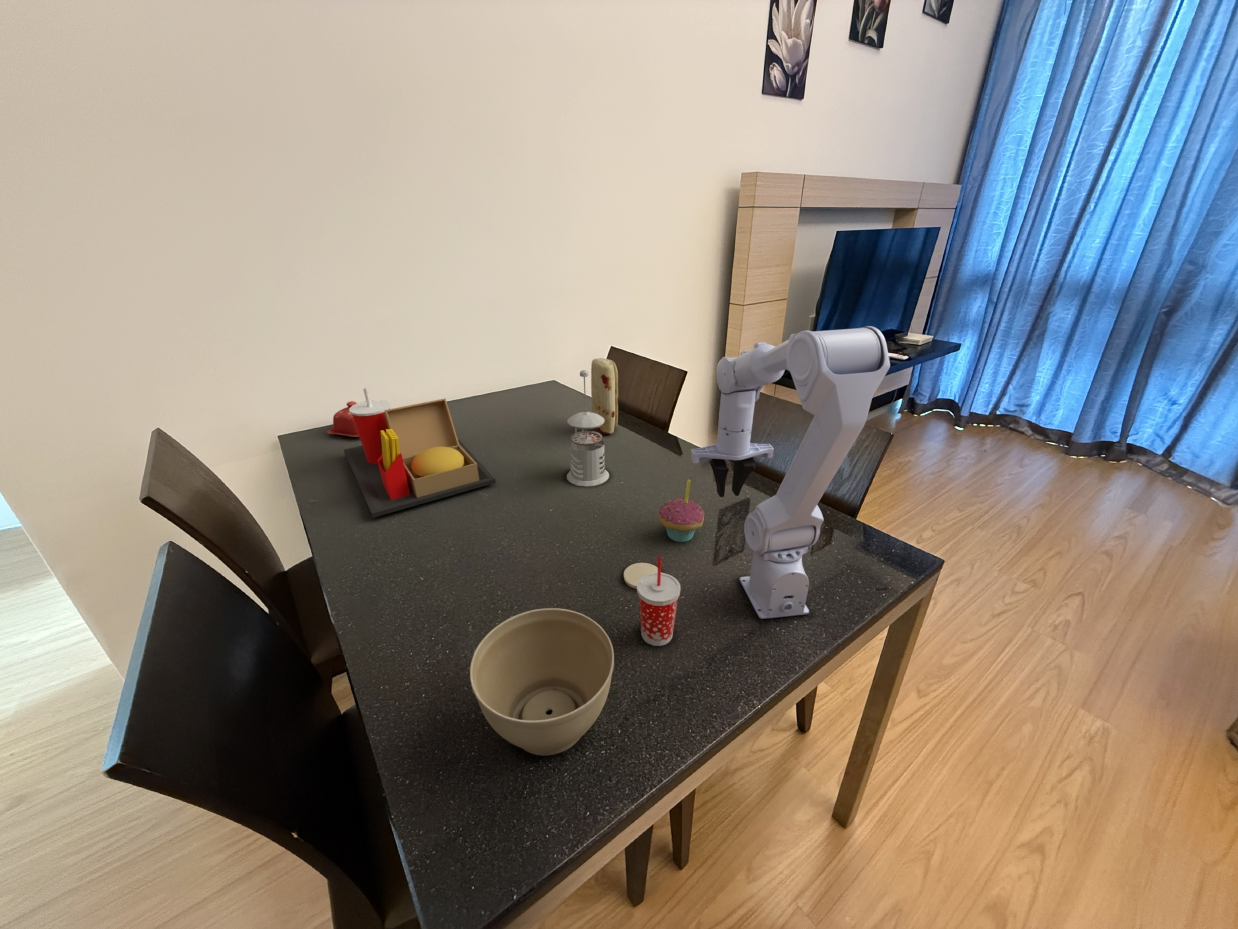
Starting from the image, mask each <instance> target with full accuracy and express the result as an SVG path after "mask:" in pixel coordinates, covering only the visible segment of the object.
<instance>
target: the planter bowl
mask: <svg viewBox="0 0 1238 929" xmlns="http://www.w3.org/2000/svg"><path fill="white" fill-rule="evenodd" d="M614 667H615V653H614V647H613V643H612V641H611V639H610V637H609V635H608V633H607V632H606V631H605V629H604V628H603V627H602V626H601V625H600V624H599V623H597V622H596V621H595V620H594V619H592V618H590V617H589V616H587V615H586V614H583V613H580V612H578V611H575V610H571V609H566V608H555V607H549V608H537V609H532V610H528V611H524V612H521V613H519V614H516V615H514V616H510V617H509V618H508V619H506V620H504V621H502V622H501V623H499V624H498V625H497V626H495V627H494V628H492V629H491V630H490V631H489V632H488V633H487V634H486V635H485V636H484V637H483V638H482V639H481V641H480V642H479V644H478V645H477V647H476V648H475V651H474V653H473V655H472V658H471V662H470V667H469V680H470V685H471V689H472V692H473V694H474V697H475V698H476V700H477V703H478V705H479V708H480V710H481V712H482V715H483V716H484V718H485V720H486V721H487V723H488V724H489V725H490V726H491V729H493V730H494V731H495V732H496V733H497V734H498V735H499V736H500V737H501V738H502V739H503V740H505V741H506V742H508V743H509V744H512V745H514V746H515V747H518V748H520V749H522V750H524V751H525V752H527V753H529V754H532V755H536V756H544V757H545V756H554V755H557V754H560V753H564V752H565V751H567V750H569V749H571V748H572V747H573V746H574V745H576V744H577V742H578V741H580V739H581V738H582V737H583V736H584V735H585V734H587V732H588V731H589V730H590V729H591V727H592V726H594V724H595V722H596V721H597V719H598V717H599V716H600V715H601V713H602V711H603V709H604V707H605V705H606V702H607V699H608V696H609V693H610V688H611V683H612V676H613V672H614ZM549 711H551V713H550V714H547V713H548V712H549Z"/></svg>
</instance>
